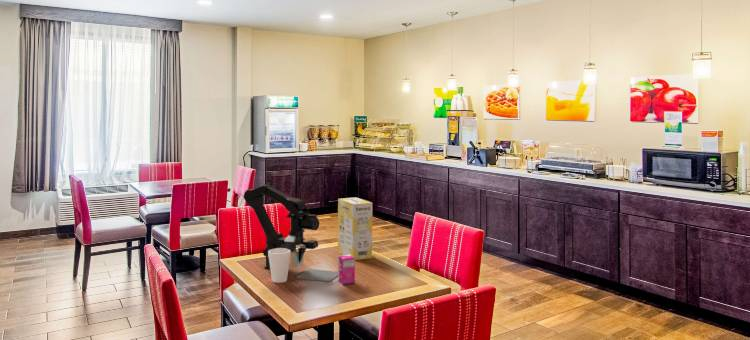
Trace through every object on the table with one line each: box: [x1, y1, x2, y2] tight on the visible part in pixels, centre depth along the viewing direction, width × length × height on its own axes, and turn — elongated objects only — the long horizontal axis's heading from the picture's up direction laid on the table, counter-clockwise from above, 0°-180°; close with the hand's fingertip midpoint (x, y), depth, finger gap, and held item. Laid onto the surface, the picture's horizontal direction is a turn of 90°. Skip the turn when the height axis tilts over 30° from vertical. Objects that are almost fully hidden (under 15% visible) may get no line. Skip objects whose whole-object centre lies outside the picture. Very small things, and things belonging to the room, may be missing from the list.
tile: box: [290, 248, 304, 268], centre depth 243 cm, size 2×8×6 cm, turn 162°
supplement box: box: [337, 254, 356, 286], centre depth 229 cm, size 6×6×12 cm
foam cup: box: [268, 248, 291, 284], centre depth 230 cm, size 10×9×13 cm
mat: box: [295, 268, 338, 283], centre depth 238 cm, size 16×14×1 cm
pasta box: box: [337, 196, 373, 261], centre depth 273 cm, size 18×10×28 cm, turn 28°
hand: (297, 261), depth 243 cm, fingers closed on tile, 2 cm apart
